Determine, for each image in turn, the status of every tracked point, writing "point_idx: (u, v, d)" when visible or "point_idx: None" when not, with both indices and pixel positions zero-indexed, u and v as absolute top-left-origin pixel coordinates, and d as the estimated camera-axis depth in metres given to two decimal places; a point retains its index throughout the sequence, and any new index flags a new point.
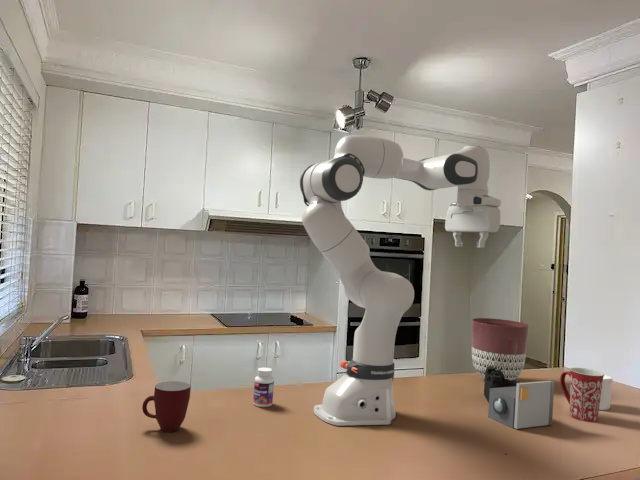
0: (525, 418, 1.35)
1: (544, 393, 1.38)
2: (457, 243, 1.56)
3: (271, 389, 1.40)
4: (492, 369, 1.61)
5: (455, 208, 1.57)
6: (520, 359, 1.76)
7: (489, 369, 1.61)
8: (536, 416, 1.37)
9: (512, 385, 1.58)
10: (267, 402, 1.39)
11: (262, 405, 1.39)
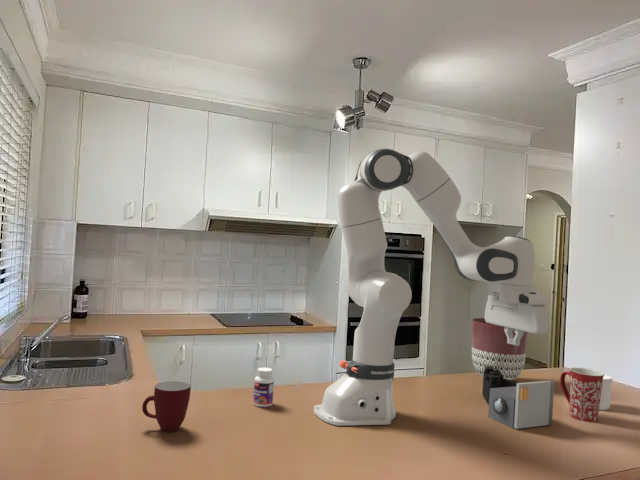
0: (525, 418, 1.35)
1: (544, 393, 1.38)
2: (510, 341, 1.42)
3: (271, 389, 1.40)
4: (491, 369, 1.60)
5: (496, 300, 1.46)
6: (520, 359, 1.76)
7: (488, 369, 1.61)
8: (536, 416, 1.37)
9: (511, 385, 1.58)
10: (267, 402, 1.39)
11: (262, 405, 1.39)
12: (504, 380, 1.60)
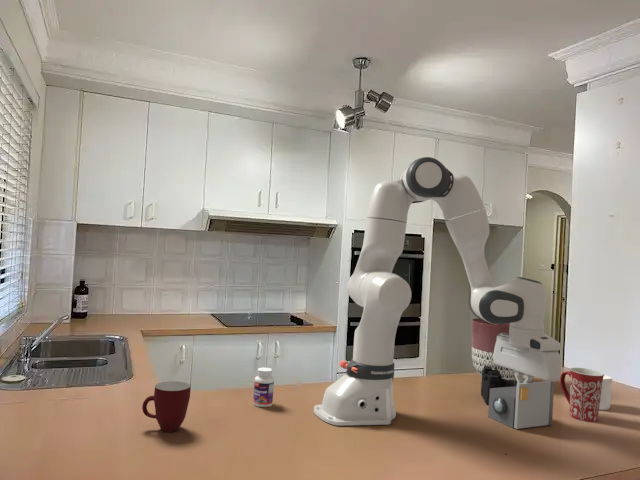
0: (525, 418, 1.35)
1: (544, 393, 1.38)
2: None
3: (271, 389, 1.40)
4: (489, 369, 1.60)
5: (506, 342, 1.42)
6: None
7: (486, 369, 1.61)
8: (536, 416, 1.37)
9: (509, 385, 1.58)
10: (267, 402, 1.39)
11: (262, 405, 1.39)
12: (502, 380, 1.60)
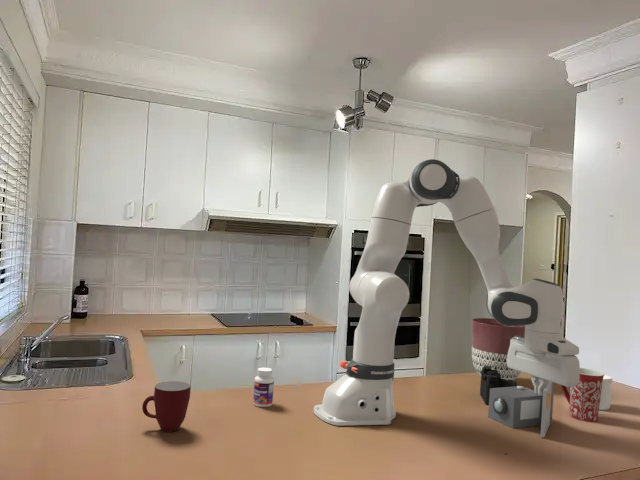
0: (546, 424, 1.31)
1: None
2: (537, 391, 1.33)
3: (271, 389, 1.40)
4: (488, 369, 1.60)
5: (521, 345, 1.38)
6: None
7: (485, 369, 1.61)
8: (548, 419, 1.35)
9: (508, 385, 1.58)
10: (267, 402, 1.39)
11: (262, 405, 1.39)
12: (502, 380, 1.60)
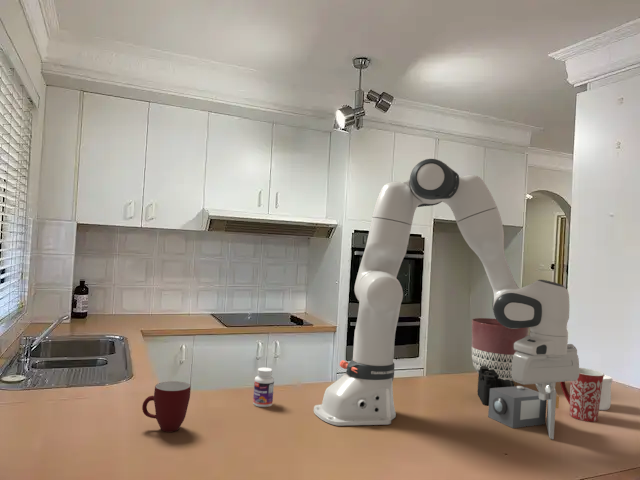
0: None
1: None
2: None
3: (271, 389, 1.40)
4: (486, 369, 1.60)
5: None
6: None
7: (483, 369, 1.60)
8: None
9: (505, 385, 1.58)
10: (267, 402, 1.39)
11: (262, 405, 1.39)
12: (499, 380, 1.60)
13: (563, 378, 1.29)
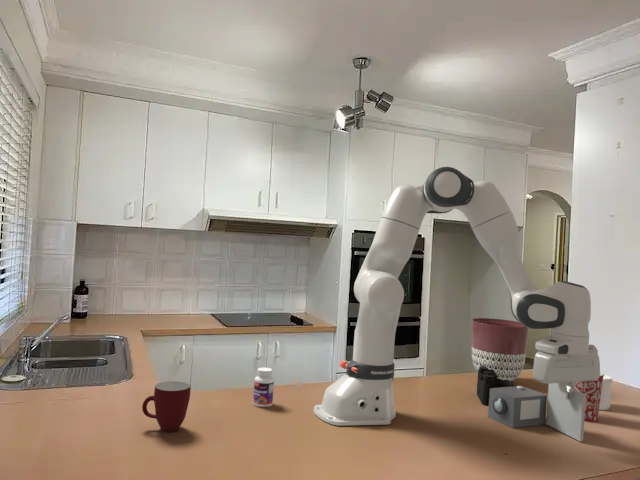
0: None
1: None
2: None
3: (271, 389, 1.40)
4: (485, 369, 1.60)
5: None
6: (520, 359, 1.76)
7: (482, 369, 1.60)
8: None
9: (505, 385, 1.58)
10: (267, 402, 1.39)
11: (262, 405, 1.39)
12: (498, 380, 1.60)
13: (584, 378, 1.31)
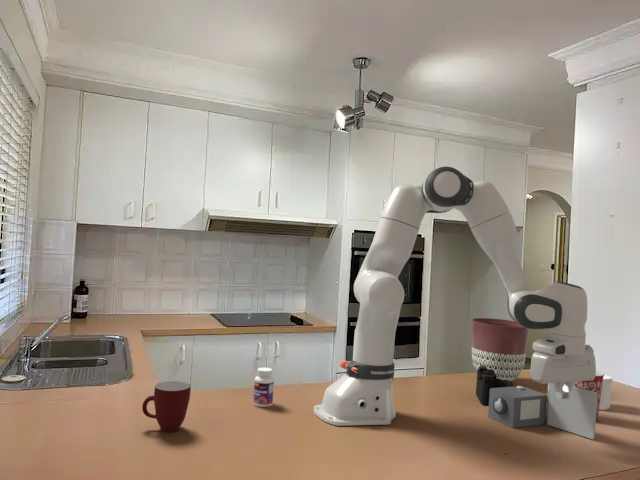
0: None
1: None
2: None
3: (271, 389, 1.40)
4: (484, 369, 1.60)
5: None
6: (520, 359, 1.76)
7: (481, 369, 1.61)
8: None
9: (504, 385, 1.58)
10: (267, 402, 1.39)
11: (262, 405, 1.39)
12: (497, 380, 1.60)
13: (580, 378, 1.32)
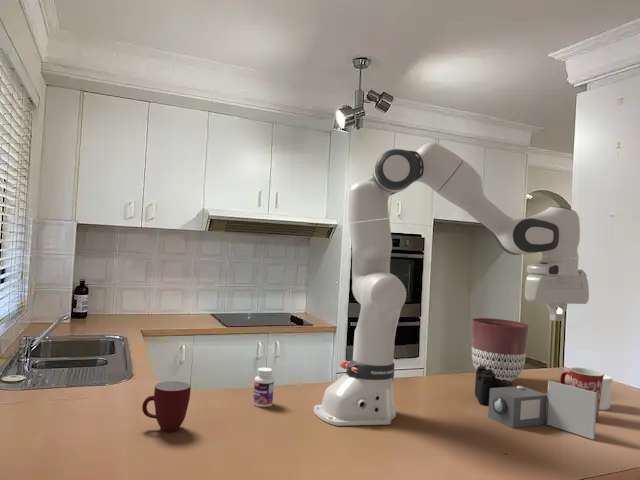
0: None
1: None
2: None
3: (271, 389, 1.40)
4: (483, 368, 1.60)
5: None
6: (520, 359, 1.76)
7: (480, 368, 1.61)
8: None
9: (503, 384, 1.58)
10: (267, 402, 1.39)
11: (262, 405, 1.39)
12: (496, 380, 1.60)
13: (574, 300, 1.35)
